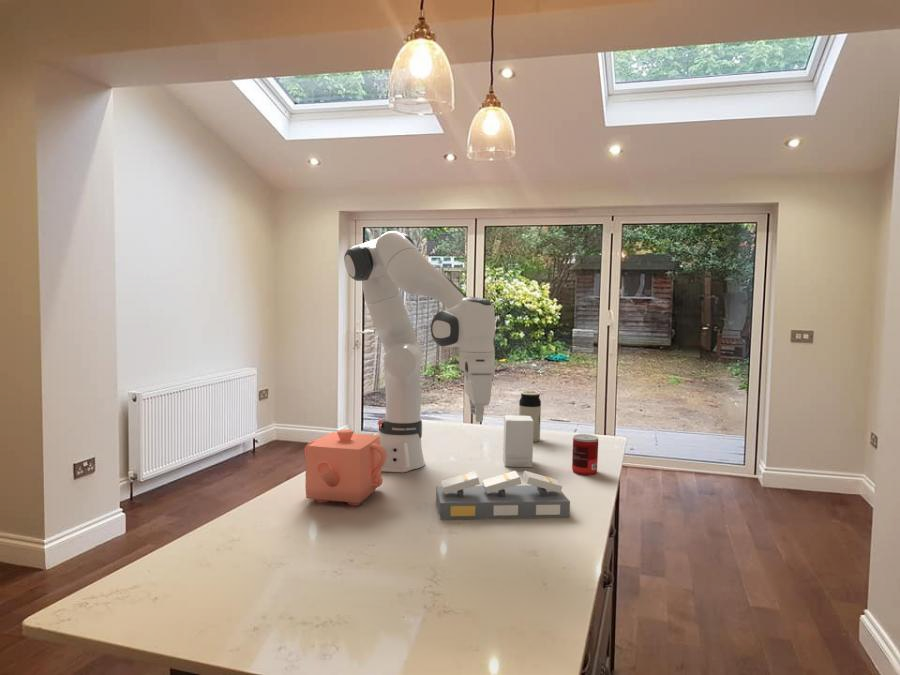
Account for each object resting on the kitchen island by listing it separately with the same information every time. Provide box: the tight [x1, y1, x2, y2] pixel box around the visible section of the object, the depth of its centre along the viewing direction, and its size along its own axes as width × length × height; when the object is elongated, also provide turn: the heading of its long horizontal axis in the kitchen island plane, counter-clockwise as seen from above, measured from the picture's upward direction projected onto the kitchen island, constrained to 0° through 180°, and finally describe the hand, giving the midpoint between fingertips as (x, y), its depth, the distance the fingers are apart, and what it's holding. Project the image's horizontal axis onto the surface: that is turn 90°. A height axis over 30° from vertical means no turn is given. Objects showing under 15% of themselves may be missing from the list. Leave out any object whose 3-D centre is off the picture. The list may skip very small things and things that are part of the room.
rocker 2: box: [481, 470, 522, 494], centre depth 160 cm, size 9×6×2 cm, turn 95°
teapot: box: [304, 428, 387, 506], centre depth 163 cm, size 25×23×18 cm
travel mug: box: [518, 390, 542, 443], centre depth 235 cm, size 8×8×18 cm
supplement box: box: [502, 414, 534, 468], centre depth 203 cm, size 9×9×15 cm
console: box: [435, 484, 571, 520], centre depth 160 cm, size 32×13×6 cm, turn 96°
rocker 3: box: [522, 470, 563, 493], centre depth 161 cm, size 9×6×2 cm, turn 96°
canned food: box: [571, 433, 599, 476], centre depth 195 cm, size 8×8×11 cm
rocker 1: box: [441, 470, 481, 494], centre depth 159 cm, size 9×6×2 cm, turn 95°
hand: (476, 417), depth 158 cm, fingers open, 8 cm apart
